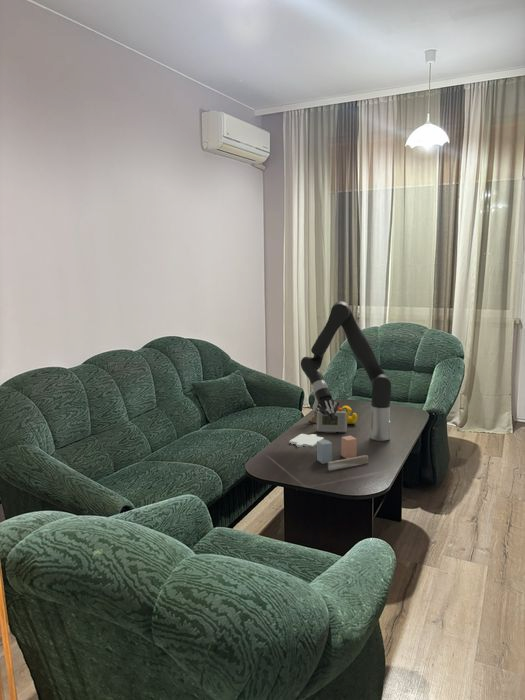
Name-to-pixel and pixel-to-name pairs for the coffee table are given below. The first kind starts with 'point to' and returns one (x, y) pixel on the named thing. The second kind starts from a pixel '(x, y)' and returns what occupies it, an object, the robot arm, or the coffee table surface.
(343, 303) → the robot arm
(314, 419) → the candle holder
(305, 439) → the mounting plate
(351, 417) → the duckling
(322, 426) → the digital clock
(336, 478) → the coffee table surface
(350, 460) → the wooden tray
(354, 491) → the coffee table surface
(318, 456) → the grey blue rectangular block
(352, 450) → the reddish brown block
